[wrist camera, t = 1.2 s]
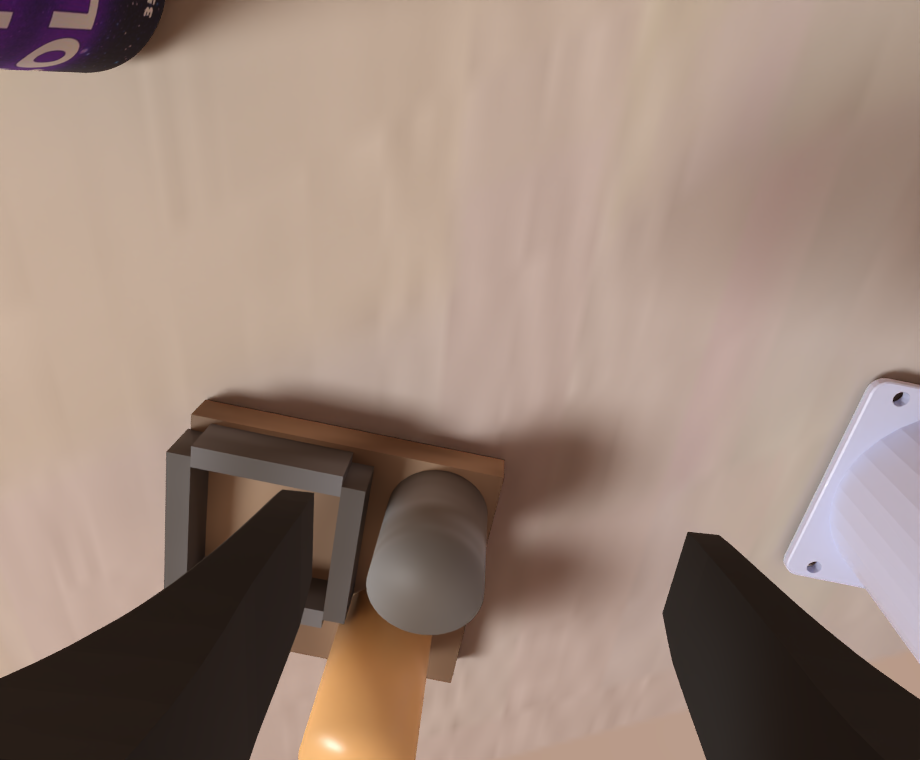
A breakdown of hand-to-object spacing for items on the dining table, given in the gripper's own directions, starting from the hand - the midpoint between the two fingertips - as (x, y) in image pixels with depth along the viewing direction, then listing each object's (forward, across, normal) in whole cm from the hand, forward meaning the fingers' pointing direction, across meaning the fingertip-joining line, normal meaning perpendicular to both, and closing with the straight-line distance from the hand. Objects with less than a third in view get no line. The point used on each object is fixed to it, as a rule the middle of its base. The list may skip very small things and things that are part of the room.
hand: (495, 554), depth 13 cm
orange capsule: (+10, +2, +11) cm, 15 cm away
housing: (+11, +5, +9) cm, 15 cm away
